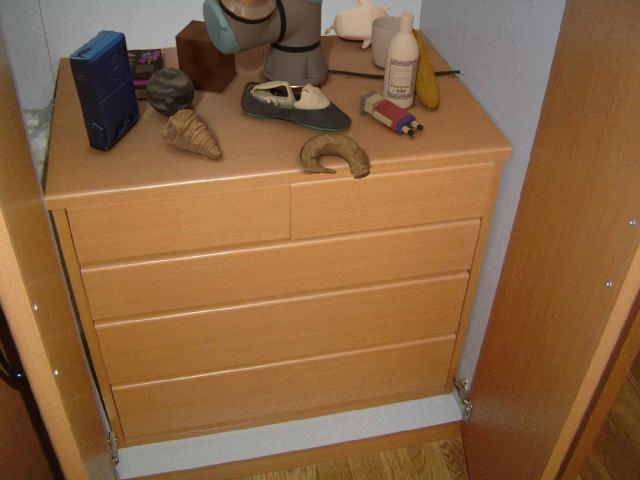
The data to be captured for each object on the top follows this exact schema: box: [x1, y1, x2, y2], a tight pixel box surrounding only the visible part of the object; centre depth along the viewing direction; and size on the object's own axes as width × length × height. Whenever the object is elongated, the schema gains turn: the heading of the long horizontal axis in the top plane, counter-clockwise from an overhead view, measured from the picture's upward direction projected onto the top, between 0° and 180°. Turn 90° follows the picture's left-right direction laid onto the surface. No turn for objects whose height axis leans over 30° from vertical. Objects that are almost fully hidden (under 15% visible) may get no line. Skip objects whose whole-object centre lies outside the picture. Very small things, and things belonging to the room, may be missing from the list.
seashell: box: [160, 109, 222, 159], centre depth 131 cm, size 14×8×8 cm
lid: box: [174, 19, 215, 46], centre depth 146 cm, size 11×9×1 cm
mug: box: [370, 15, 399, 69], centre depth 158 cm, size 13×9×10 cm
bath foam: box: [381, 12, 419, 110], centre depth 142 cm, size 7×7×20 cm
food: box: [412, 27, 441, 110], centre depth 148 cm, size 21×6×6 cm
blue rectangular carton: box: [68, 29, 140, 152], centre depth 129 cm, size 14×5×20 cm, turn 164°
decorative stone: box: [146, 67, 196, 117], centre depth 140 cm, size 10×10×10 cm
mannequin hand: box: [324, 0, 391, 50], centre depth 169 cm, size 12×18×12 cm
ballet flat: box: [240, 81, 352, 132], centre depth 139 cm, size 8×24×8 cm, turn 72°
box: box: [127, 48, 163, 100], centre depth 152 cm, size 14×4×20 cm
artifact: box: [299, 132, 372, 180], centre depth 129 cm, size 12×3×15 cm
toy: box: [359, 90, 425, 137], centre depth 141 cm, size 6×4×15 cm
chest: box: [175, 40, 237, 94], centre depth 150 cm, size 10×9×11 cm
